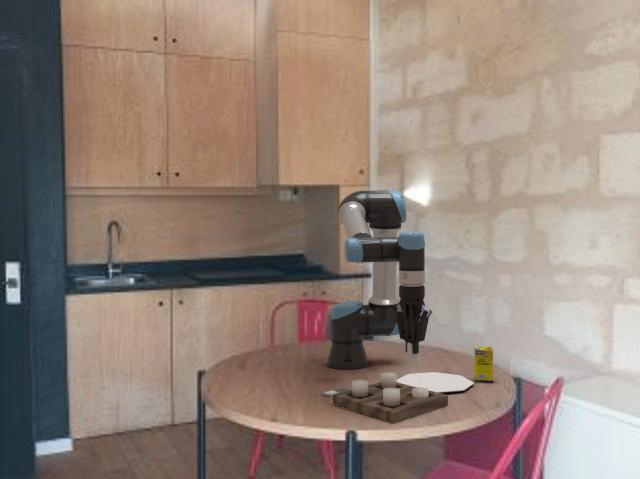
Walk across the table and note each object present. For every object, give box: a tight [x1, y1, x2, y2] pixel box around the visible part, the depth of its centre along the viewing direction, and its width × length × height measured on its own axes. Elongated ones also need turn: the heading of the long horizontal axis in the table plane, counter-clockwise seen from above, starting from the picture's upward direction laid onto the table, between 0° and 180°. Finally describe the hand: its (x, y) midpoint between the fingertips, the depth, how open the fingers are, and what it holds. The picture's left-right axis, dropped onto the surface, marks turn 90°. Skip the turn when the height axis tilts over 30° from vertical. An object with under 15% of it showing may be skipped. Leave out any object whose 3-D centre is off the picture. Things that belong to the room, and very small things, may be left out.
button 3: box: [383, 388, 400, 406], centre depth 189 cm, size 5×5×4 cm
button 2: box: [380, 371, 398, 388], centre depth 207 cm, size 5×5×4 cm
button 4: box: [412, 387, 428, 400], centre depth 198 cm, size 5×5×4 cm
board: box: [332, 381, 449, 424], centre depth 198 cm, size 24×24×3 cm
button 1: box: [351, 378, 369, 397], centre depth 199 cm, size 5×5×4 cm
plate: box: [397, 371, 474, 394], centre depth 220 cm, size 24×24×2 cm
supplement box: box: [473, 346, 494, 384], centre depth 224 cm, size 6×6×11 cm
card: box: [320, 387, 350, 399], centre depth 210 cm, size 9×9×1 cm
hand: (412, 364), depth 198 cm, fingers closed
